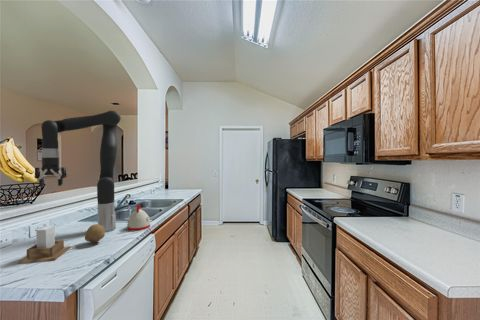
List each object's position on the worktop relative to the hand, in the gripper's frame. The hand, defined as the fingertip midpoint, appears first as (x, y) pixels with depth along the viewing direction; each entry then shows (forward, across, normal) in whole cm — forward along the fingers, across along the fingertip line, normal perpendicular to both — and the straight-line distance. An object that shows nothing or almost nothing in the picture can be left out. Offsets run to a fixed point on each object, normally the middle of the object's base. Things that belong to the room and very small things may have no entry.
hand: (51, 185), depth 130 cm
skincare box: (+29, -9, +23) cm, 38 cm away
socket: (+30, -9, +23) cm, 39 cm away
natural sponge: (+30, -26, +11) cm, 41 cm away
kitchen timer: (+30, -43, -13) cm, 54 cm away
